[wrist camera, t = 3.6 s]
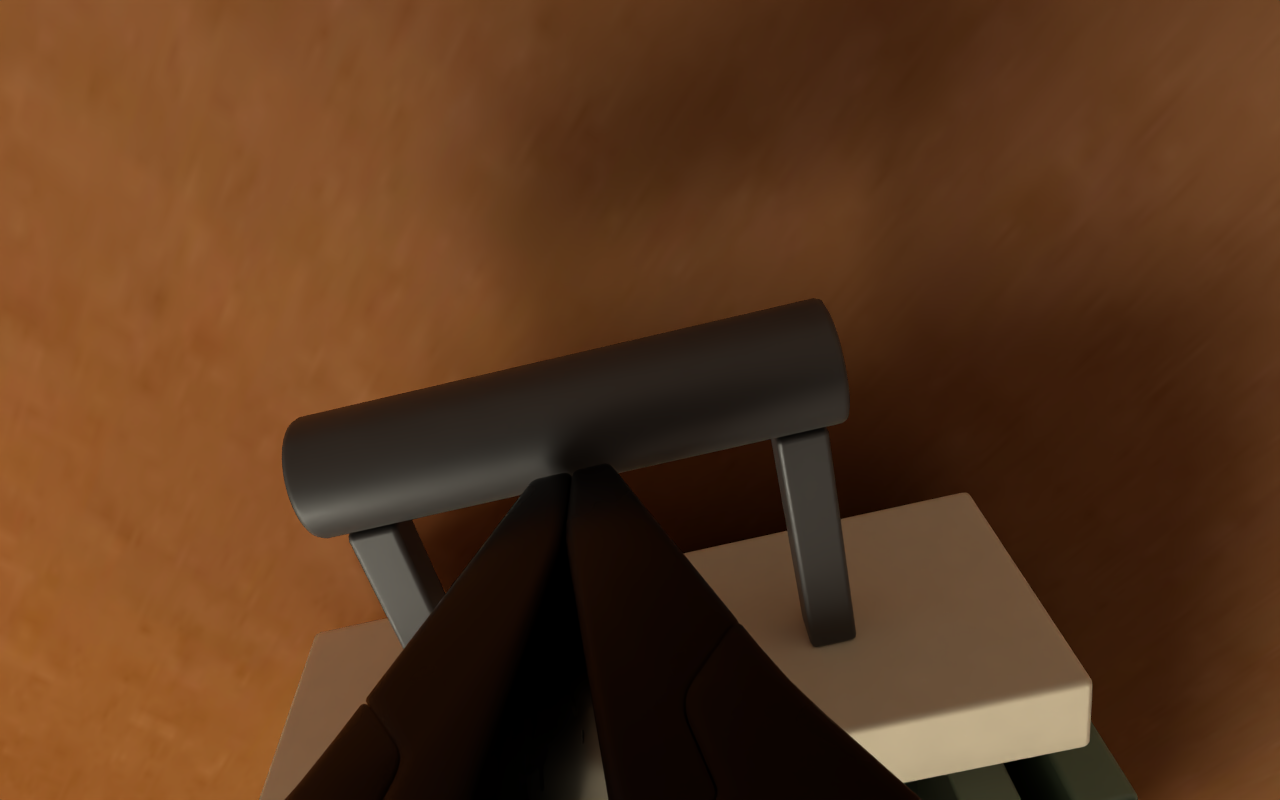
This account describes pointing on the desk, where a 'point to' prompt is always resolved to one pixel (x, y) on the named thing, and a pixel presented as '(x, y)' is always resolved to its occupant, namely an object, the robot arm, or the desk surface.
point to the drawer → (737, 572)
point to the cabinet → (1072, 774)
